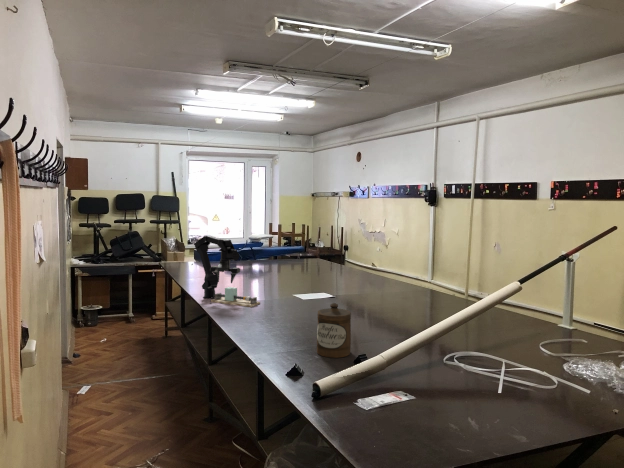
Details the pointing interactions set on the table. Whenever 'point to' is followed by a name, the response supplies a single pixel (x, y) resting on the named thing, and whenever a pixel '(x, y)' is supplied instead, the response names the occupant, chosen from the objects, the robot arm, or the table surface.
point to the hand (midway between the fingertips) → (224, 282)
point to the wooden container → (334, 332)
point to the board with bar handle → (236, 301)
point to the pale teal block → (230, 293)
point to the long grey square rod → (237, 297)
